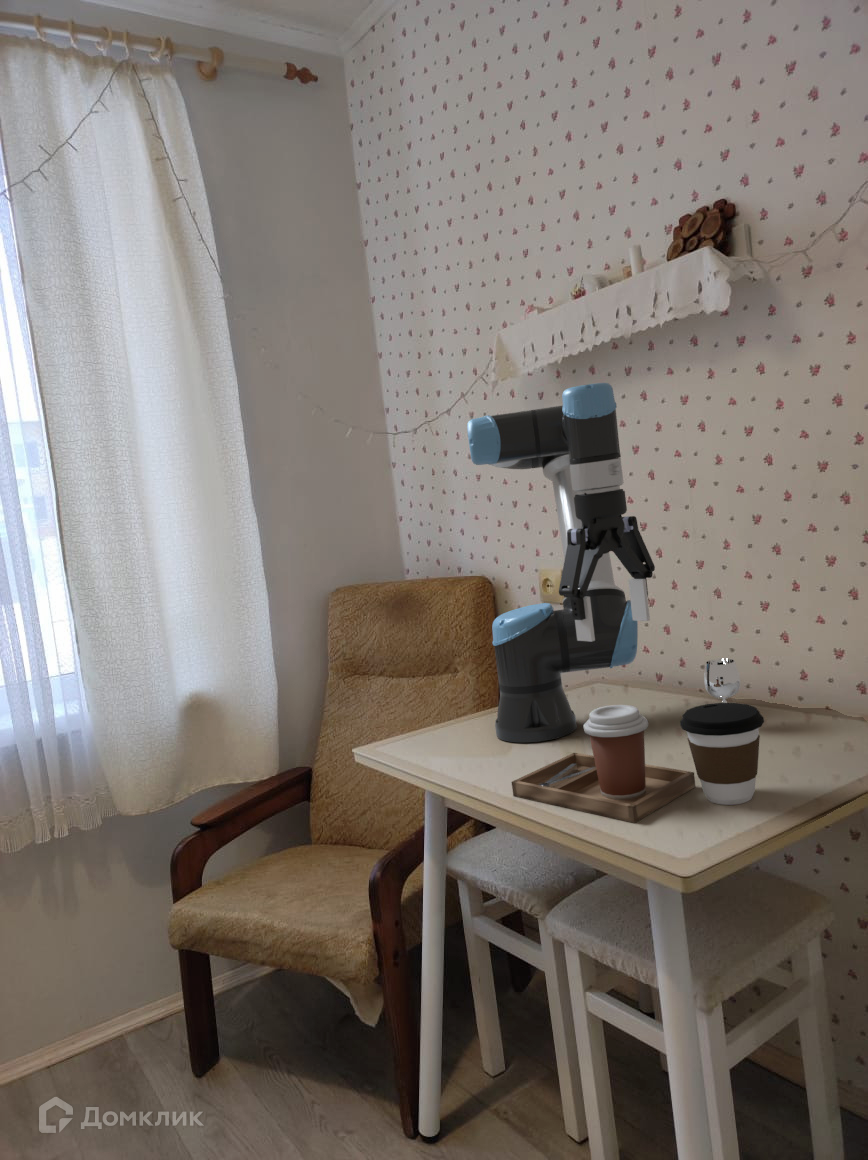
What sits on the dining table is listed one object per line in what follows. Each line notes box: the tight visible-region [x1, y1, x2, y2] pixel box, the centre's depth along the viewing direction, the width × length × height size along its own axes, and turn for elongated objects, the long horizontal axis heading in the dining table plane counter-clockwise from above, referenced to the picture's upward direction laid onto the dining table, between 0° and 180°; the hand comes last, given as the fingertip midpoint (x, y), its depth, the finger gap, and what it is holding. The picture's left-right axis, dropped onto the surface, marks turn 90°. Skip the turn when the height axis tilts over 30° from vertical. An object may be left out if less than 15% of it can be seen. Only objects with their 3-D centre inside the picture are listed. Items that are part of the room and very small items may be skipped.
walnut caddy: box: [511, 752, 696, 824], centre depth 132 cm, size 22×15×2 cm
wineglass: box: [703, 658, 741, 703], centre depth 152 cm, size 6×6×12 cm
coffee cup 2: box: [679, 702, 765, 806], centre depth 123 cm, size 11×11×12 cm
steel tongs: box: [539, 764, 595, 788], centre depth 136 cm, size 11×5×1 cm, turn 132°
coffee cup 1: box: [583, 704, 649, 800], centre depth 129 cm, size 9×9×12 cm
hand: (614, 630), depth 135 cm, fingers open, 13 cm apart
